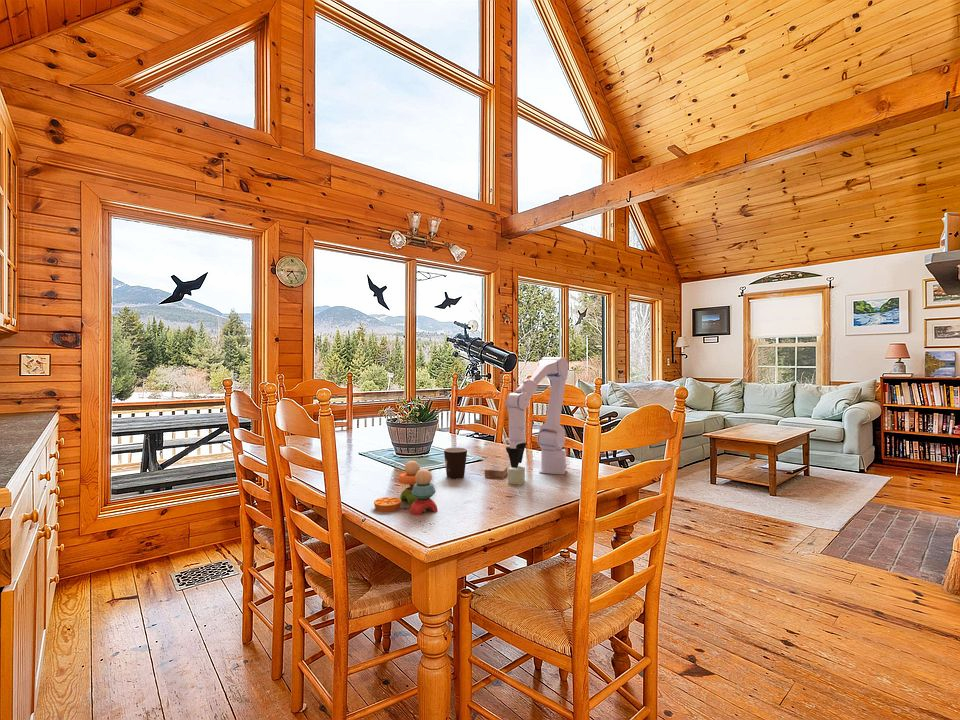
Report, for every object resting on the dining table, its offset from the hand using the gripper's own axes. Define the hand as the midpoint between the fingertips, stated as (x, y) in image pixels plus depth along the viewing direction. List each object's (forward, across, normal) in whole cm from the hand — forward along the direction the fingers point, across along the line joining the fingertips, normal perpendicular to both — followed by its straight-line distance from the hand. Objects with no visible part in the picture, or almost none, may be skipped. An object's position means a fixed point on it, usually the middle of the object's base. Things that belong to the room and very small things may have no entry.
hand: (516, 465), depth 172 cm
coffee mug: (+6, -2, -23) cm, 24 cm away
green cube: (+6, 0, 0) cm, 6 cm away
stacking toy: (+6, +36, -26) cm, 45 cm away
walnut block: (+6, -7, -9) cm, 13 cm away
